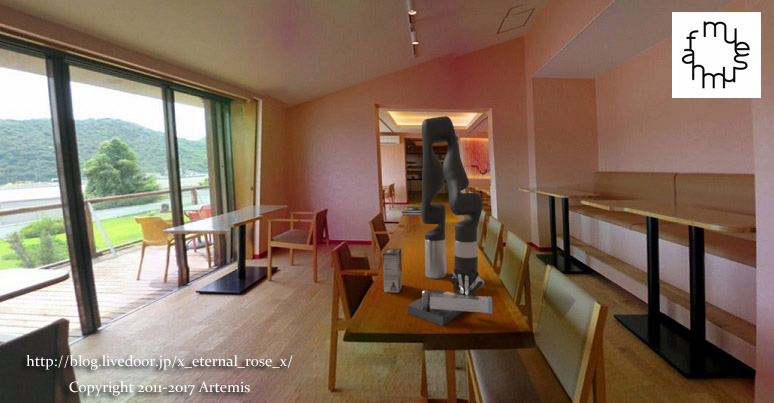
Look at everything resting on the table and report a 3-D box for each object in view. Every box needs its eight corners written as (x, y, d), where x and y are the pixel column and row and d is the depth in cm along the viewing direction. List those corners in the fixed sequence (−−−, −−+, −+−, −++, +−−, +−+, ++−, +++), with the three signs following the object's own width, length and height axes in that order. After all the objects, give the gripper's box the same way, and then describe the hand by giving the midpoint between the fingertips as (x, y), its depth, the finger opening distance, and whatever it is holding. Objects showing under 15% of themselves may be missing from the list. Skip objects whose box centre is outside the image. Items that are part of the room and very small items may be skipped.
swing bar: (430, 309, 105) (430, 296, 104) (431, 304, 108) (431, 292, 107) (492, 313, 100) (492, 300, 100) (491, 309, 103) (491, 296, 103)
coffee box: (388, 284, 139) (386, 247, 138) (402, 284, 138) (401, 248, 136) (383, 292, 131) (382, 253, 129) (399, 293, 129) (398, 254, 128)
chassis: (436, 296, 124) (436, 273, 123) (469, 306, 115) (469, 281, 114) (407, 313, 111) (406, 287, 110) (442, 326, 102) (442, 297, 101)
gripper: (490, 254, 104) (489, 305, 106) (453, 248, 113) (454, 295, 115) (479, 259, 99) (479, 313, 101) (442, 252, 107) (443, 302, 109)
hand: (466, 303), depth 108 cm, fingers closed
